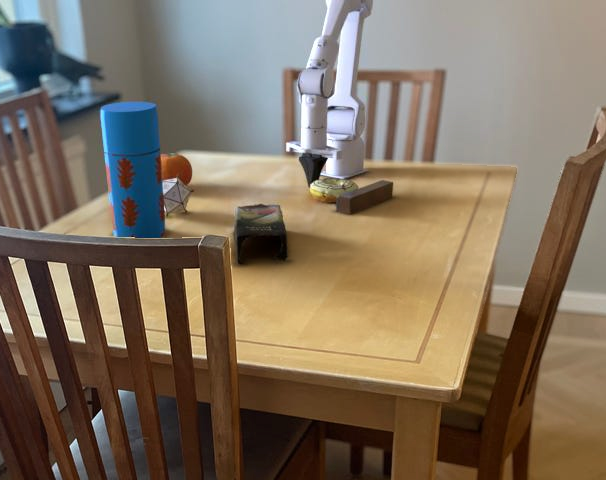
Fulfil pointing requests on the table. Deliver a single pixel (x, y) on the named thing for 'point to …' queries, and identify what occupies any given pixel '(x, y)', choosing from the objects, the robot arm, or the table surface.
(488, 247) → the table surface
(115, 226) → the thermos
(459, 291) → the table surface
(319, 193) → the decorated donut
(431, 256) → the table surface
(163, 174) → the fruit
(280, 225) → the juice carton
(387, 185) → the bar
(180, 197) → the game die
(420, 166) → the table surface
